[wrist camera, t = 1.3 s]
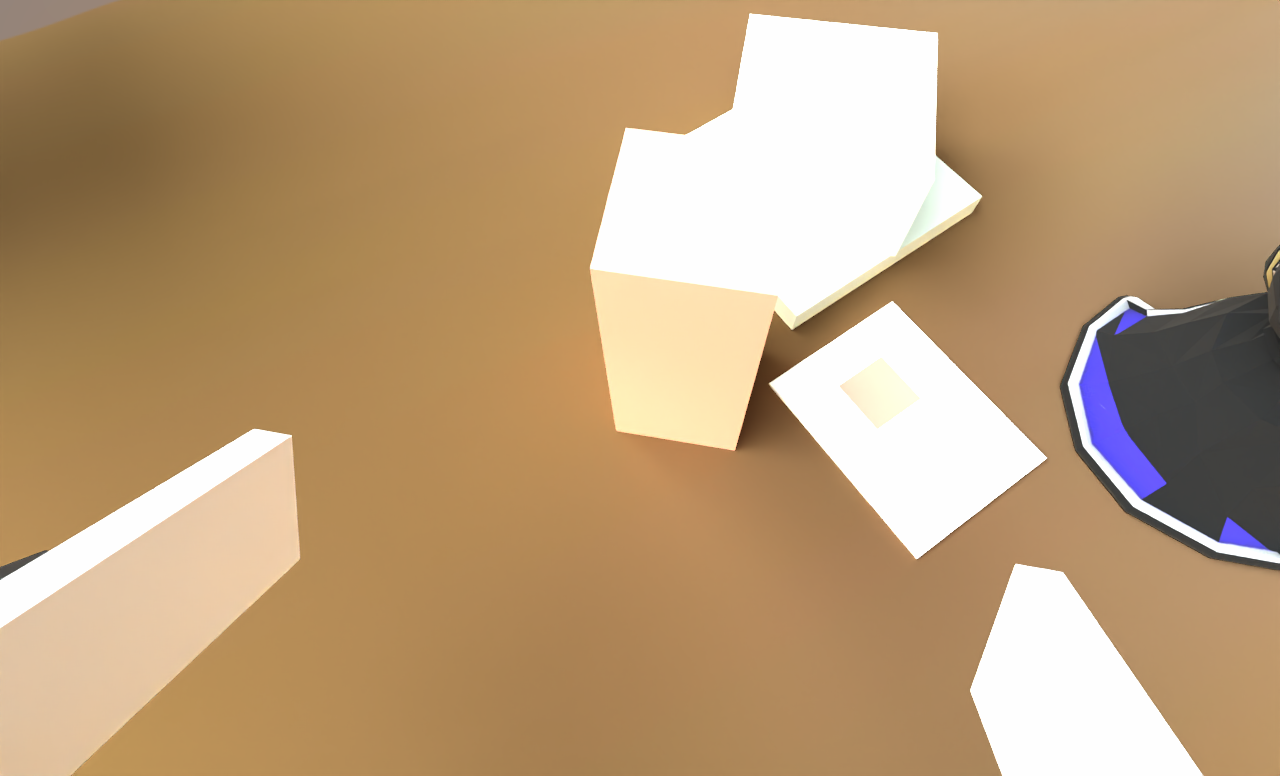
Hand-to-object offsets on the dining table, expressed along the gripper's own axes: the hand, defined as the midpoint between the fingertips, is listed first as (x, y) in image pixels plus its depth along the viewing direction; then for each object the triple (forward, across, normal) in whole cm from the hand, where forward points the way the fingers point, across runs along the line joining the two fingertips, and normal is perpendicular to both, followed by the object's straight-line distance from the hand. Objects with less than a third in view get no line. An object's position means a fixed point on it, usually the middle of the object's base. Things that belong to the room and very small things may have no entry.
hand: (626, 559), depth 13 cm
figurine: (+19, +20, -2) cm, 27 cm away
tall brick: (+18, 0, -3) cm, 18 cm away
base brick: (+25, +4, +6) cm, 26 cm away
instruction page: (+18, +9, -3) cm, 20 cm away
